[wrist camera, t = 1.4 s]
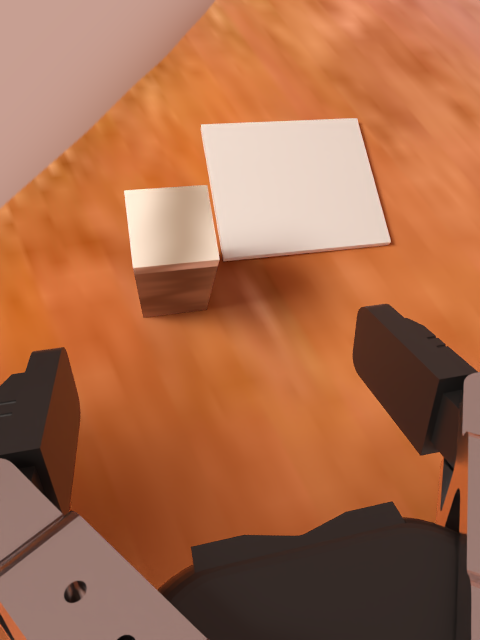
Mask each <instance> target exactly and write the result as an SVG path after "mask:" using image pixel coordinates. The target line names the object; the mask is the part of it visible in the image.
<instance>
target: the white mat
mask: <svg viewBox="0 0 480 640" xmlns="http://www.w3.org/2000/svg"><path fill="white" fill-rule="evenodd" d="M201 133H202V139H203V145H204V151H205V157H206V163H207V169H208V175H209V180H210V186H211V192H212V198H213V204H214V210H215V216H216V221H217V227H218V233H219V239H220V245H221V251H222V257H223V261H232V260H242V259H252V258H262V257H273V256H283V255H293V254H303V253H313V252H323V251H333V250H343V249H354V248H364V247H374V246H384V245H389V244H390V243H391V240H390V236H389V233H388V229H387V225H386V222H385V218H384V214H383V211H382V207H381V204H380V200H379V196H378V193H377V189H376V186H375V182H374V178H373V175H372V171H371V167H370V164H369V160H368V157H367V153H366V149H365V146H364V142H363V138H362V135H361V131H360V128H359V124H358V120H357V118H350V119H325V120H301V121H276V122H251V123H226V124H201Z"/></svg>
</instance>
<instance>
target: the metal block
mask: <svg viewBox="0 0 480 640" xmlns="http://www.w3.org/2000/svg"><path fill="white" fill-rule="evenodd" d="M124 194H125V202H126V211H127V220H128V228H129V237H130V246H131V254H132V263H133V270H134V275H135V280H136V284H137V289H138V294H139V299H140V304H141V309H142V313H143V317H151V316H159V315H168V314H176V313H185V312H193V311H202V310H207V307H208V303H209V299H210V295H211V291H212V287H213V283H214V279H215V275H216V272H217V268H218V264H219V260H220V259H219V253H218V247H217V241H216V235H215V229H214V223H213V218H212V212H211V206H210V200H209V194H208V188H207V185H200V186H185V187H170V188H155V189H139V190H124Z"/></svg>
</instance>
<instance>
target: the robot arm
mask: <svg viewBox="0 0 480 640" xmlns="http://www.w3.org/2000/svg"><path fill="white" fill-rule="evenodd" d="M353 362H354V366H355V369H356V372H357V373H358V375H359V376H360V378H361V379H362V380H363V381H364V383H365V384H366V385H367V387H368V388H369V389H370V390H371V392H372V393H373V394H374V396H375V397H376V398H377V400H378V401H379V402H380V403H381V405H382V406H383V407H384V409H385V410H386V411H387V413H388V414H389V415H390V416H391V418H392V419H393V420H394V422H395V423H396V424H397V425H398V427H399V428H400V429H401V431H402V432H403V433H404V435H405V436H406V437H407V438H408V440H409V441H410V442H411V444H412V445H413V446H414V448H415V449H416V450H417V451H418V453H419V454H420V455H426V454H431V453H436V452H440V453H441V454H442V456H443V459H442V462H441V466H440V477H439V490H438V502H437V514H436V524H435V523H432V522H428V521H424V520H420V519H413V518H405V517H402V516H401V515H400V513H399V511H398V510H397V508H396V507H395V505H394V503H393V502H388V503H383V504H379V505H375V506H370V507H366V508H361V509H357V510H352V511H348V512H345V513H343V514H341V515H339V516H338V517H336V518H334V519H332V520H330V521H328V522H326V523H324V524H323V525H321V526H319V527H317V528H315V529H313V530H311V531H309V532H308V533H306V534H303V535H300V536H269V535H242V536H237V537H233V538H229V539H224V540H220V541H215V542H211V543H207V544H202V545H198V546H193V547H191V550H192V557H193V565H191V566H189V567H188V568H186V569H184V570H182V571H181V572H179V573H178V574H176V575H175V576H174V577H172V578H171V579H169V580H168V581H167V582H166V583H165V584H164V585H162V586H161V587H160V588H159V589H158V590H156V589H155V588H154V587H153V586H152V585H151V584H150V583H149V582H148V581H147V580H146V579H145V578H144V577H143V576H142V575H141V574H140V573H139V572H138V571H137V570H136V569H135V568H134V567H133V566H132V565H131V564H130V563H129V562H128V561H126V560H125V559H124V558H123V557H122V556H121V555H120V554H119V553H118V552H117V551H116V550H115V549H114V548H113V547H112V546H111V545H110V544H109V543H108V542H107V541H106V540H105V539H104V538H103V537H102V536H101V535H100V534H99V533H98V532H97V531H96V530H95V529H94V528H93V527H91V526H90V525H89V524H88V523H87V522H86V521H85V520H84V519H83V518H82V517H81V516H80V515H79V514H77V513H76V512H74V511H70V512H69V508H70V500H71V492H72V483H73V475H74V467H75V459H76V450H77V442H78V434H79V426H80V403H79V397H78V393H77V389H76V385H75V381H74V378H73V374H72V370H71V366H70V362H69V358H68V355H67V352H66V350H65V348H64V347H62V348H55V349H48V350H40V351H33V352H32V353H31V356H30V359H29V362H28V365H27V368H26V371H25V373H18V374H12V375H11V376H10V377H9V378H8V379H7V380H6V381H5V382H4V383H3V384H2V385H1V386H0V627H1V628H2V630H3V631H4V633H5V634H6V636H7V637H8V639H9V640H480V372H477V371H476V370H475V369H474V368H473V367H472V366H470V365H469V364H468V363H467V362H466V361H464V360H463V359H462V358H461V357H460V356H459V355H457V354H456V353H455V352H454V351H453V350H452V349H450V348H449V347H448V346H447V347H446V346H445V343H443V342H442V341H441V340H440V339H439V338H436V336H435V335H434V334H433V333H432V332H430V331H429V330H428V329H427V328H426V327H425V326H423V325H421V324H419V323H417V322H415V321H412V320H410V319H408V318H404V317H403V316H402V315H400V314H399V313H398V312H397V311H396V310H395V309H394V308H392V307H391V306H390V305H389V304H381V305H374V306H366V307H361V308H360V309H359V311H358V314H357V322H356V330H355V339H354V347H353Z"/></svg>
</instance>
